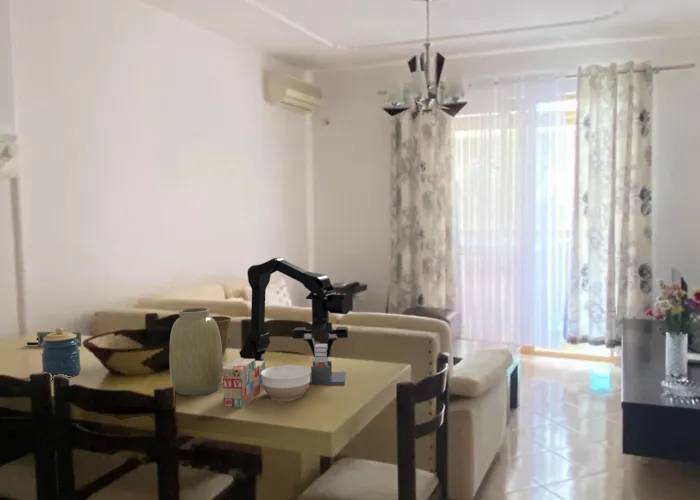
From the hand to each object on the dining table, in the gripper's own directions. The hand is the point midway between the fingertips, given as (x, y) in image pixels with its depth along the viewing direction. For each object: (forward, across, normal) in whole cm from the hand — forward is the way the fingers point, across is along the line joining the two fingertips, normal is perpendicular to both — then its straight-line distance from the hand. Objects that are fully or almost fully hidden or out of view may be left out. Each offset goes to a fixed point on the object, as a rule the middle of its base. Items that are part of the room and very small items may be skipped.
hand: (321, 357), depth 223 cm
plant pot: (+9, -46, +35) cm, 58 cm away
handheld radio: (+9, -124, +62) cm, 139 cm away
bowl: (+9, -10, -15) cm, 20 cm away
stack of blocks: (+9, -23, -16) cm, 30 cm away
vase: (+9, -41, -8) cm, 43 cm away
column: (+4, 0, 0) cm, 4 cm away
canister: (+9, -97, +13) cm, 98 cm away
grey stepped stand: (+8, 0, +2) cm, 9 cm away
